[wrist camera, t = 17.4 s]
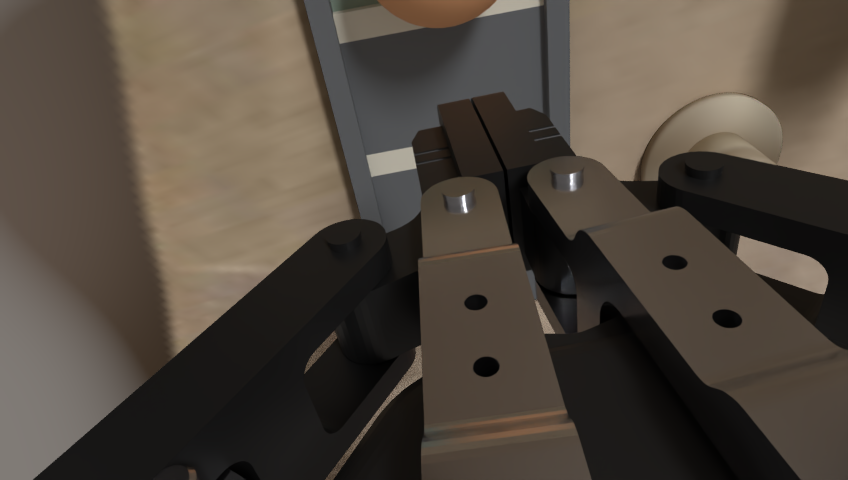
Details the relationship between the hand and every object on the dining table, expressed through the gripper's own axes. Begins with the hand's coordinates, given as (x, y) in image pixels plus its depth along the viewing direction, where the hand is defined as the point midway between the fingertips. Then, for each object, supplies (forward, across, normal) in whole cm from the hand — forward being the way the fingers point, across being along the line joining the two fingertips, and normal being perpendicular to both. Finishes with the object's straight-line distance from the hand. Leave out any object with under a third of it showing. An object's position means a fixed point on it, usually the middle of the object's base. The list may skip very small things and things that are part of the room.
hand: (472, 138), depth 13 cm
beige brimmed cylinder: (+10, -11, +8) cm, 17 cm away
